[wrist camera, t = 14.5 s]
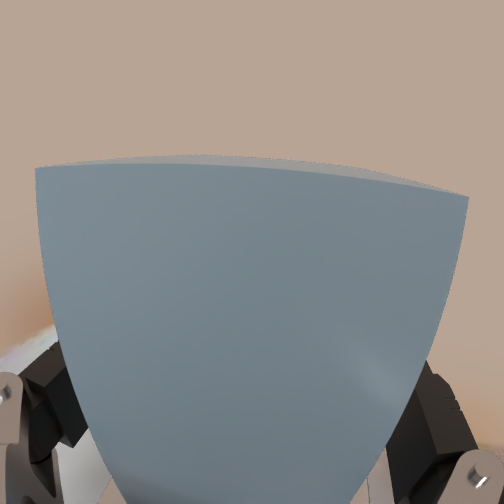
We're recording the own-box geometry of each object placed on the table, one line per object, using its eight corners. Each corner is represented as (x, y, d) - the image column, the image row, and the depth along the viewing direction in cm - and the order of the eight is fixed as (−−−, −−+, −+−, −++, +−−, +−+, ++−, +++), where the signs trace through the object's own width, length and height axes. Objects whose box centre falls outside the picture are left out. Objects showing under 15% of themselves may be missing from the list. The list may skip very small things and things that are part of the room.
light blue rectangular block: (171, 568, 7) (35, 167, 3) (203, 475, 13) (196, 154, 9) (277, 586, 7) (468, 197, 2) (290, 488, 13) (358, 167, 8)
